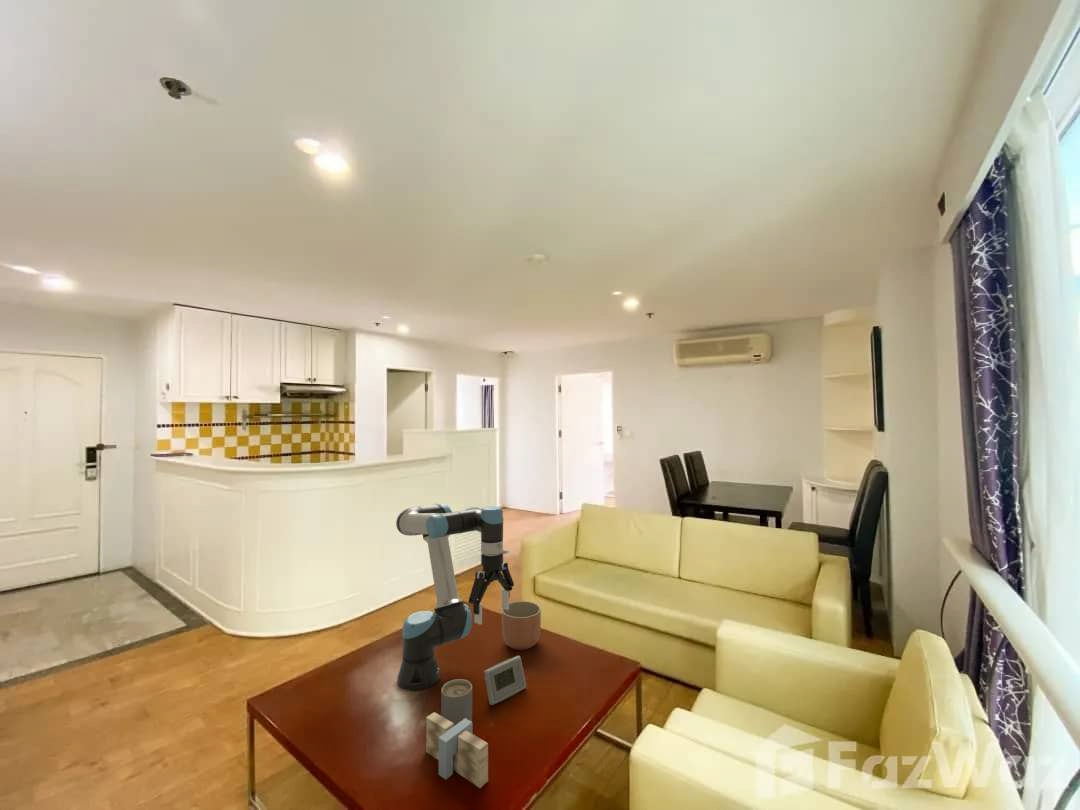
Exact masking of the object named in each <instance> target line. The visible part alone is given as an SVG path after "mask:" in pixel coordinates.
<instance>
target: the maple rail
mask: <svg viewBox="0 0 1080 810" xmlns="http://www.w3.org/2000/svg"><path fill="white" fill-rule="evenodd" d="M425 720H426V721H425V724H426V725H425V727H426V728H425V752H426V753H427V754H428V755H430V756H431V757H433V758H434V759H436V760H437V761H439V737H440V736H442V735H443V734H444V733H446V732H447V731H448V730H450V729H451V728H452V727H454V723H452V722H451V721H449V720H447V719H446V718H444V717H442V716H441V714H438V713H437V712H435V711H434V712H432V713H430V714H429V715H427V716H426V717H425ZM453 772H456V773H457V774H458V775H460V776H461V777H463V778H464V779H466V780H467V781H468V782H470V783H471V784H473V785H475V786H476V787H477V788H479V789H481V788H483V786H485V784H486V783H488V782H489V743H488V742H486V741H485V740H483V739H481V738H480V737H478V736H476V735H475V734H473V733H472V734H471V733H470V732H468V731H464V732H463V733H462V734H460V735H459V736H458V752H457V753H455V754H454V755H453Z"/></svg>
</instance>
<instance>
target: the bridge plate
mask: <svg viewBox="0 0 1080 810" xmlns="http://www.w3.org/2000/svg"><path fill="white" fill-rule="evenodd" d="M464 731H468V732H470V733H471V734H473V721H472V720H471V721H469V720H468V719H466V718H465V719H463V720H462V721H461V722H459V723H458V724H456V725H455V726H454V727H452V728H451V729H450V730H448V731H447V732H446V733H444V734H443V735H442V736H440V737H439V760H438V776H440V777H441V778H443V779H444V780H448V779H449V778H450V777H451V776H452V775H453V774H454V770H453V755H454V754H455V753H457V752H458V736H459V735H460V734H462V733H463V732H464Z"/></svg>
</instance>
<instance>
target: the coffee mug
mask: <svg viewBox="0 0 1080 810" xmlns="http://www.w3.org/2000/svg"><path fill="white" fill-rule="evenodd" d="M440 694H441V695H440V696H441V699H440V700H441V702H440V703H441V704H440V705H441V708H440V709H441V710H440V711H441V713H440V716H442V717H444V718H446V719H447V720H449V721H451V722H452V723H454V726H455V725H456V724H458V723H459V722H461V721H462V720H463V719H465V718H466V719H468V720H469V721H471V722H472V720H473V685H472V683H471V682H470V680H468V679H463V678H456V679H452V680H449V681H447V682H445V683H444V684H443V685H442V687H441V692H440Z"/></svg>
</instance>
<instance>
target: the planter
mask: <svg viewBox="0 0 1080 810" xmlns="http://www.w3.org/2000/svg"><path fill="white" fill-rule="evenodd" d="M541 617H542V608H541V606H540V605H539V604H537V603H535V602H534V601H533V602H531V601H525V600H521V601H518V600H517V601H511V602H509V610H505V609H502V608H501V627H502V628H501V630H502V631H501V632H502V639H503V641H504V643H505V644H506V645H507V646H508V647H509V648H511V649H512V650H517V651H524V650H529V649H531V648H533V647H534V646H535V645H536V644H537V643H538V642H539V639H540V636H541V626H542V623H541V622H542V618H541Z"/></svg>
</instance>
